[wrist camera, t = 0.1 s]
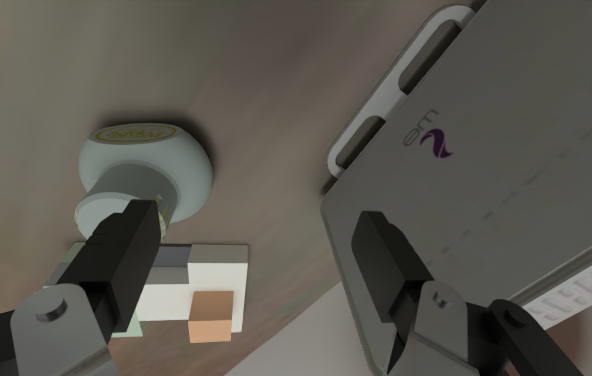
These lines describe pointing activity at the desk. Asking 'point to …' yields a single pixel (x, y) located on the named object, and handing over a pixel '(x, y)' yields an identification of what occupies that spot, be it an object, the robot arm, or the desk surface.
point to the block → (211, 316)
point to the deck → (181, 281)
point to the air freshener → (142, 173)
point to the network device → (480, 164)
